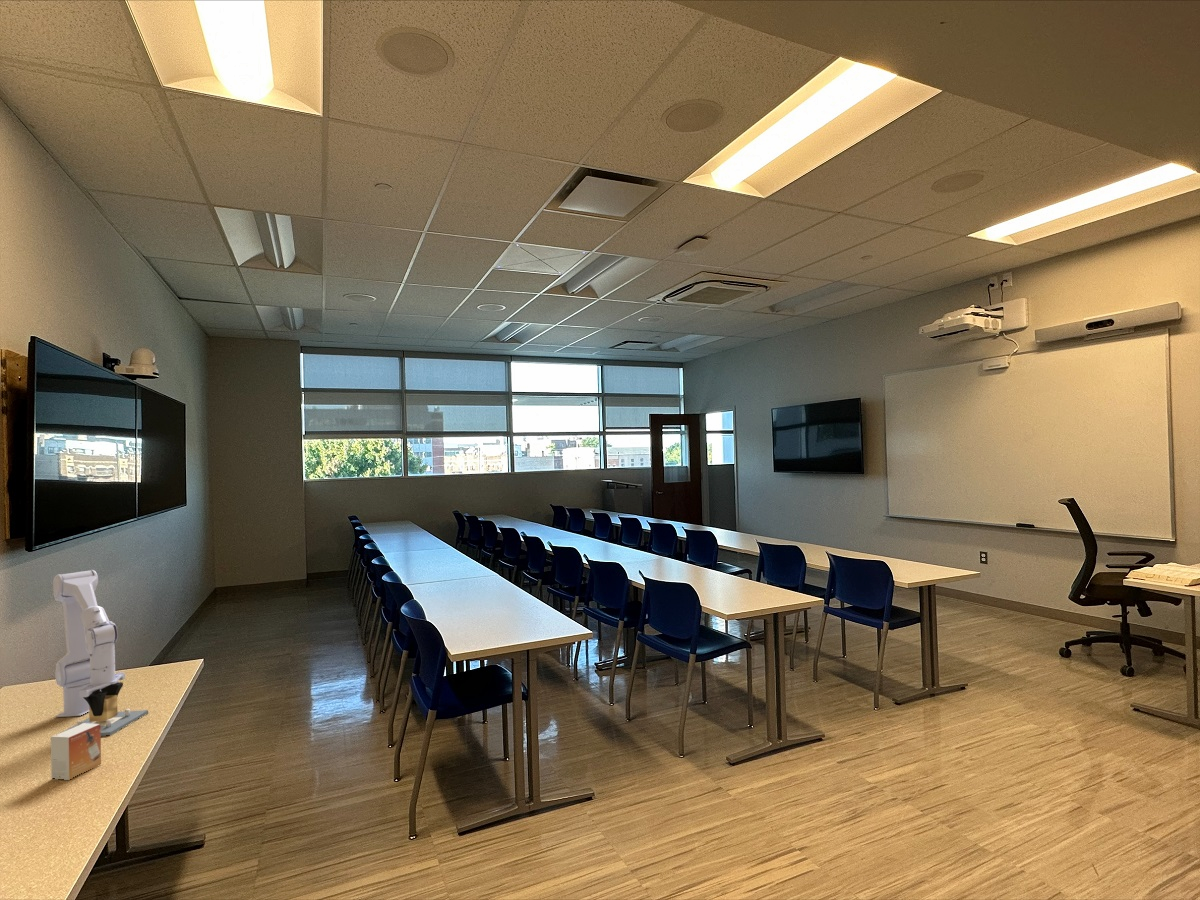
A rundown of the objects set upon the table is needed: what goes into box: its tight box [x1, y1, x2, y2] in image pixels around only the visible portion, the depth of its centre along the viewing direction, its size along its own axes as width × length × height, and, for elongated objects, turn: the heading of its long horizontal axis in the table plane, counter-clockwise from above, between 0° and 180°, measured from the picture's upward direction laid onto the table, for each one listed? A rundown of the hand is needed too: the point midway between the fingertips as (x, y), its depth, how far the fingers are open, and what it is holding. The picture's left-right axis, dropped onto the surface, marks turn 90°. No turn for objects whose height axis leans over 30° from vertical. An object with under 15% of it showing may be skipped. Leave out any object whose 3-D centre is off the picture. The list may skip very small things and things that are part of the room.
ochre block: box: [88, 695, 119, 722], centre depth 177 cm, size 4×5×6 cm
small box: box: [50, 723, 102, 781], centre depth 150 cm, size 8×6×10 cm
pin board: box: [58, 708, 149, 737], centre depth 177 cm, size 15×15×3 cm
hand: (103, 712), depth 177 cm, fingers closed on ochre block, 4 cm apart
